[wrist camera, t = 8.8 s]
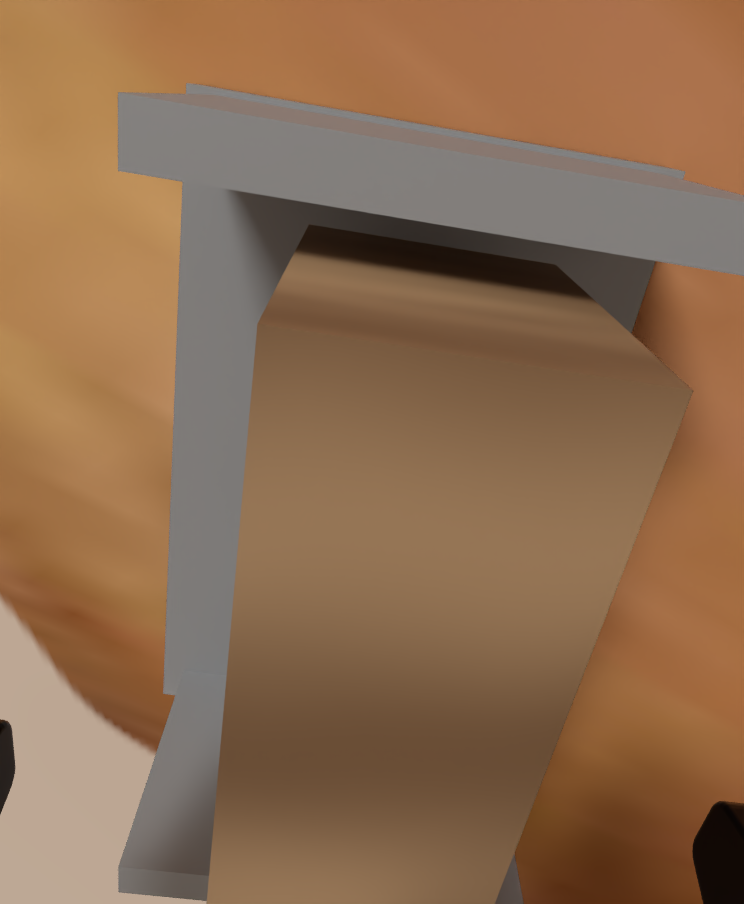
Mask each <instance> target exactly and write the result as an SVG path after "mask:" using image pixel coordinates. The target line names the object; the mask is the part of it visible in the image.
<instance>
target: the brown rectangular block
mask: <svg viewBox="0 0 744 904" xmlns="http://www.w3.org/2000/svg"><path fill="white" fill-rule="evenodd" d="M692 393H693V390H692V389H691V388H690V387H689V386H688V385H687V384H686V383H685V382H683V381H682V380H681V379H680V378H679V377H678V376H677V375H676V374H675V373H674V372H673V371H671V370H670V369H669V368H668V367H667V366H666V365H665V364H664V363H663V362H662V361H661V360H659V359H658V358H657V357H656V356H655V355H654V354H653V353H652V352H651V351H650V350H648V349H647V348H646V347H645V346H644V345H643V344H642V343H641V342H640V341H639V340H638V339H636V338H635V337H634V336H633V335H632V334H631V333H630V332H629V331H628V330H627V329H625V328H624V327H623V326H622V325H621V324H620V323H619V322H618V321H617V320H616V319H615V318H613V317H612V316H611V315H610V314H609V313H608V312H607V311H606V310H605V309H604V308H603V307H601V306H600V305H599V304H598V303H597V302H596V301H595V300H594V299H593V298H592V297H590V296H589V295H588V294H587V293H586V292H585V291H584V290H583V289H582V288H581V287H580V286H578V285H577V284H576V283H575V282H574V281H573V280H572V279H571V278H570V277H569V276H568V275H566V274H565V273H564V272H563V271H562V270H561V269H560V268H559V267H558V266H557V265H555V264H549V263H543V262H537V261H531V260H525V259H518V258H512V257H506V256H500V255H494V254H488V253H482V252H476V251H469V250H463V249H457V248H451V247H445V246H439V245H433V244H427V243H420V242H414V241H408V240H402V239H396V238H390V237H384V236H378V235H372V234H365V233H359V232H353V231H347V230H341V229H335V228H329V227H323V226H316V225H310V224H309V225H308V227H307V229H306V231H305V233H304V235H303V237H302V239H301V241H300V243H299V244H298V246H297V248H296V250H295V252H294V254H293V256H292V258H291V260H290V262H289V264H288V266H287V268H286V270H285V271H284V273H283V275H282V277H281V279H280V281H279V283H278V285H277V287H276V289H275V291H274V293H273V295H272V297H271V298H270V300H269V302H268V304H267V306H266V308H265V310H264V312H263V314H262V316H261V318H260V320H259V322H258V323H257V333H256V345H255V356H254V368H253V379H252V390H251V402H250V413H249V425H248V436H247V448H246V459H245V471H244V482H243V493H242V505H241V516H240V528H239V539H238V551H237V562H236V573H235V585H234V596H233V608H232V619H231V631H230V642H229V654H228V665H227V676H226V688H225V699H224V711H223V722H222V734H221V745H220V757H219V768H218V779H217V791H216V802H215V814H214V825H213V837H212V848H211V860H210V871H209V882H208V894H207V904H495V902H496V899H497V897H498V894H499V891H500V889H501V886H502V884H503V881H504V878H505V876H506V873H507V871H508V868H509V866H510V863H511V860H512V858H513V855H514V853H515V850H516V847H517V845H518V842H519V840H520V837H521V835H522V832H523V829H524V827H525V824H526V822H527V819H528V816H529V814H530V811H531V809H532V806H533V804H534V801H535V798H536V796H537V793H538V791H539V788H540V785H541V783H542V780H543V778H544V775H545V773H546V770H547V767H548V765H549V762H550V760H551V757H552V754H553V752H554V749H555V747H556V744H557V742H558V739H559V736H560V734H561V731H562V729H563V726H564V723H565V721H566V718H567V716H568V713H569V711H570V708H571V705H572V703H573V700H574V698H575V695H576V693H577V690H578V687H579V685H580V682H581V680H582V677H583V674H584V672H585V669H586V667H587V664H588V662H589V659H590V656H591V654H592V651H593V649H594V646H595V643H596V641H597V638H598V636H599V633H600V631H601V628H602V625H603V623H604V620H605V618H606V615H607V612H608V610H609V607H610V605H611V602H612V600H613V597H614V594H615V592H616V589H617V587H618V584H619V581H620V579H621V576H622V574H623V571H624V569H625V566H626V563H627V561H628V558H629V556H630V553H631V550H632V548H633V545H634V543H635V540H636V538H637V535H638V532H639V530H640V527H641V525H642V522H643V519H644V517H645V514H646V512H647V509H648V507H649V504H650V501H651V499H652V496H653V494H654V491H655V488H656V486H657V483H658V481H659V478H660V476H661V473H662V470H663V468H664V465H665V463H666V460H667V458H668V455H669V452H670V450H671V447H672V445H673V442H674V439H675V437H676V434H677V432H678V429H679V427H680V424H681V421H682V419H683V416H684V414H685V411H686V408H687V406H688V403H689V401H690V398H691V396H692Z"/></svg>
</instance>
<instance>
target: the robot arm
mask: <svg viewBox="0 0 744 904" xmlns="http://www.w3.org/2000/svg"><path fill="white" fill-rule="evenodd" d="M14 774H15V759H14V747H13V737H12V728H11V725H10V724H9V722H8V721H5V720H0V814H1V811H2V809H3V806H4V804H5V801H6V799H7V796H8V794H9V791H10V788H11V786H12V782H13V778H14ZM692 852H693V861H694V865H695V870H696V874H697V878H698V883H699V887H700V891H701V896H702V900H703V904H744V804H743V803H735V802H726V801H719V802H717V803H715V804H714V805H713V806H712V808H711V810H710V812H709V813H708V815H707V817H706V819H705V821H704V822H703V824H702V826H701V828H700V830H699V831H698V833H697V835H696V837H695V839H694V843H693V851H692Z"/></svg>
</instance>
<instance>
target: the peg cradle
mask: <svg viewBox="0 0 744 904" xmlns="http://www.w3.org/2000/svg"><path fill="white" fill-rule="evenodd" d="M118 171H122V172H128V173H134V174H140V175H146V176H152V177H158V178H164V179H170V180H176V181H182V182H183V186H182V213H181V239H180V266H179V292H178V318H177V345H176V371H175V398H174V424H173V451H172V477H171V504H170V530H169V557H168V583H167V610H166V636H165V662H164V689H163V694H170V695H176V696H175V699H174V702H173V705H172V708H171V711H170V714H169V717H168V720H167V723H166V726H165V729H164V732H163V735H162V738H161V741H160V744H159V747H158V750H157V753H156V756H155V759H154V762H153V765H152V768H151V771H150V774H149V777H148V780H147V783H146V786H145V789H144V792H143V795H142V798H141V801H140V804H139V807H138V810H137V813H136V816H135V819H134V822H133V825H132V828H131V831H130V834H129V837H128V840H127V843H126V846H125V849H124V852H123V855H122V858H121V861H120V864H119V892H122V893H132V894H142V895H153V896H162V897H173V898H184V899H193V900H203V901H207V894H208V882H209V871H210V860H211V848H212V837H213V825H214V814H215V802H216V791H217V779H218V768H219V757H220V745H221V734H222V722H223V711H224V699H225V688H226V676H227V665H228V654H229V642H230V631H231V619H232V608H233V596H234V585H235V573H236V562H237V551H238V539H239V528H240V516H241V505H242V493H243V482H244V471H245V459H246V448H247V436H248V425H249V413H250V402H251V390H252V379H253V368H254V356H255V345H256V333H257V323H258V322H259V320H260V318H261V316H262V314H263V312H264V310H265V308H266V306H267V304H268V302H269V300H270V298H271V297H272V295H273V293H274V291H275V289H276V287H277V285H278V283H279V281H280V279H281V277H282V275H283V273H284V271H285V270H286V268H287V266H288V264H289V262H290V260H291V258H292V256H293V254H294V252H295V250H296V248H297V246H298V244H299V243H300V241H301V239H302V237H303V235H304V233H305V231H306V229H307V227H308V225H309V224H310V225H316V226H323V227H329V228H335V229H341V230H347V231H353V232H359V233H365V234H372V235H378V236H384V237H390V238H396V239H402V240H408V241H414V242H420V243H427V244H433V245H439V246H445V247H451V248H457V249H463V250H469V251H476V252H482V253H488V254H494V255H500V256H506V257H512V258H518V259H525V260H531V261H537V262H543V263H549V264H555V265H557V266H558V267H559V268H560V269H561V270H562V271H563V272H564V273H565V274H566V275H568V276H569V277H570V278H571V279H572V280H573V281H574V282H575V283H576V284H577V285H578V286H580V287H581V288H582V289H583V290H584V291H585V292H586V293H587V294H588V295H589V296H590V297H592V298H593V299H594V300H595V301H596V302H597V303H598V304H599V305H600V306H601V307H603V308H604V309H605V310H606V311H607V312H608V313H609V314H610V315H611V316H612V317H613V318H615V319H616V320H617V321H618V322H619V323H620V324H621V325H622V326H623V327H624V328H625V329H627V330H628V331H629V332H630V333H632V330H633V327H634V324H635V321H636V318H637V315H638V312H639V309H640V306H641V303H642V300H643V297H644V294H645V291H646V288H647V285H648V282H649V279H650V276H651V273H652V270H653V267H654V264H655V261H659V262H665V263H671V264H677V265H682V266H688V267H694V268H700V269H706V270H712V271H718V272H724V273H730V274H736V275H742V276H744V195H740V194H736V193H732V192H728V191H724V190H721V189H717V188H713V187H709V186H705V185H702V184H698V183H694V182H690V181H686V180H683V177H684V174H685V171H680V170H676V169H672V168H667V167H661V166H656V165H650V164H645V163H639V162H633V161H628V160H622V159H616V158H611V157H605V156H599V155H594V154H588V153H583V152H577V151H571V150H566V149H560V148H554V147H549V146H543V145H537V144H532V143H526V142H521V141H515V140H509V139H504V138H498V137H492V136H487V135H481V134H475V133H470V132H464V131H459V130H453V129H447V128H442V127H436V126H430V125H425V124H419V123H413V122H408V121H402V120H397V119H391V118H385V117H380V116H374V115H368V114H363V113H357V112H351V111H346V110H340V109H335V108H329V107H323V106H318V105H312V104H306V103H301V102H295V101H289V100H284V99H278V98H273V97H267V96H261V95H256V94H250V93H244V92H239V91H233V90H227V89H222V88H216V87H211V86H205V85H199V84H190V83H186V94H166V93H126V92H118ZM495 904H524V903H523V897H522V892H521V887H520V881H519V876H518V871H517V865H516V860H515V854H514V855H513V858H512V860H511V863H510V866H509V868H508V871H507V873H506V876H505V878H504V881H503V884H502V886H501V889H500V891H499V894H498V897H497V899H496V902H495Z"/></svg>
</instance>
